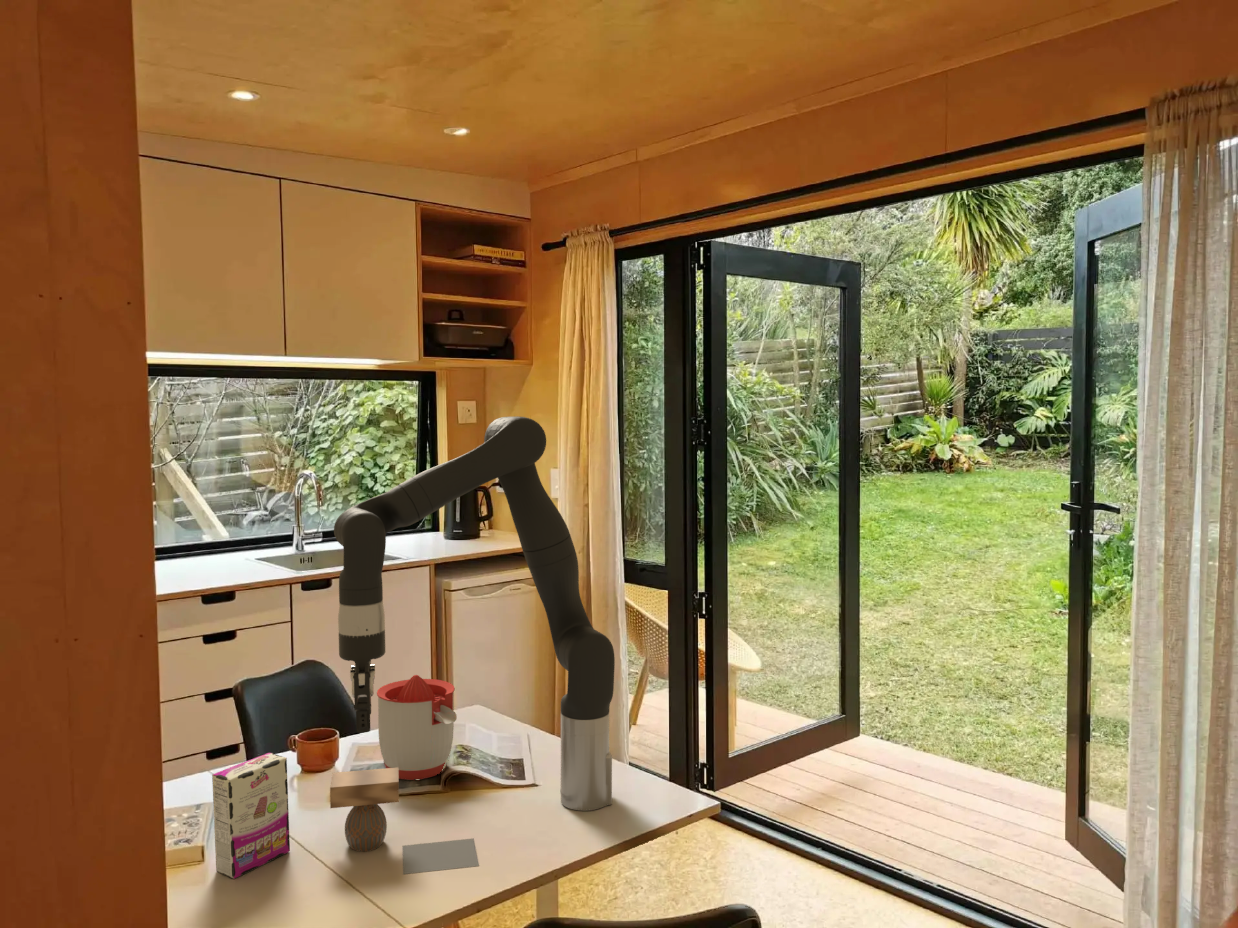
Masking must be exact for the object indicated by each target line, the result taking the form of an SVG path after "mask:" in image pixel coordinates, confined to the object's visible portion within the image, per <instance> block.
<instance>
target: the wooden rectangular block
mask: <svg viewBox="0 0 1238 928" xmlns="http://www.w3.org/2000/svg"><path fill="white" fill-rule="evenodd" d="M399 785H400V783H399V767H397V768H386V767H385V768H375V769H364V770H352V771H351V770H350V771H339V772H338V771H337V772H332V775H331V780H330V786H329V797H330V799H329V802H330V803H329V805H330V807H329V808H330V809H337V808H348V807H354V806H361V805H373V804H378V805H382V804H393V803H394V804H395V803H400V791H399V790H400V788H399V787H400V786H399Z"/></svg>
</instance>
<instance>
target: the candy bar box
mask: <svg viewBox="0 0 1238 928" xmlns="http://www.w3.org/2000/svg"><path fill="white" fill-rule="evenodd" d="M287 759H288V758H287V757H285V756H282V755H279V754H275V753H273V752H267V753H264V754H263V755H259V756H256V757H254V758H252V759H249V760H246V761H244V762H240V763H239V764H235V765H233V766H230V767H228V768H225V769H224V770H221V771H217V772H215V773H213V774H211V776H212V777H211V778H212V800H213V802H212V803H213V804H212V805H213V824H214V825H213V826H214V828H213V829H214V846H215V847H214V848H215V849H214V850H215V852H214V853H215V869H216V872H217V873H219V874H221V875H224V876H227V877H228V878H231V879H233V880H235V879H237V878H239V877H241V876H243V875H245V874H247V873H249V872H251V871H254V870H255V869H257V868H260V867H262V866H263V865H266V864H267V863H269V862H272V861H274V860H275V859H277V858H280V857H282V856H283V855H285V854H287V853H289V852H290V851H291V845H290V843H291V842H290V815H289V814H290V812H289V811H290V810H289V792H288V791H289V788H288V785H289V783H288V765H287V764H288V760H287Z"/></svg>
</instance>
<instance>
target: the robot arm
mask: <svg viewBox="0 0 1238 928" xmlns="http://www.w3.org/2000/svg"><path fill="white" fill-rule="evenodd" d="M483 437H484V438H483V439H484V440H483V443H481V444H480V445H478V446H477V447H476V448H473V449H472V450H469V451H468V452H466V453H464V454H462V455H460V456H457V457H455V458H453V459H451V460H448V461H446V462H445V461H444V462H442V463H440V464H438V465H436V466H435V465H434V466H433V467H431V468H428V469H426V470H424V471H422V472H419V473H418V474H416V475H415V474H414V476H412V477H410V478H408V479H407V480H405V481H403V482H402V483H399V484H398V485H396V486H394V487H392V488H391V489H390V490H388V491H386V492H383V493H382V494H379V495H376V496H373V497H371V498H368V499H366V500H364V501H362V502H359V503H357V504H355V505H353V506H352V507H351V506H350V508H348V509H346V510H344V511H343V512H342V513H341V514H340V515H339V516H338V517H337V519H336V520H335V522H334V525H333V534H334V537H335V539H336V541H337V542H338V544H339V545H340V546H342V549H343V568H342V570H341V571H340V573H339V578H338V597H339V598H338V599H339V604H338V605H339V607H338V616H337V617H338V618H337V620H338V621H337V623H338V628H337V629H338V655H339V658H340V659H342V660H344V661H348V662H350V661H352V662H354V664H355V665H351V666H350V672H349V673H350V674H349V675H350V676H349V677H350V681H351V696H352V698H354V699H353V700H354V701H353V703H354V704H353V709H354V711H355V724H356V725H355V726H356V727H355V728H356V732H357V733H359V734H360V733H369V732H370V731H371V714H372V697H374V684H375V679H376V664H372V660H377V659H380V658H381V657H383V656H384V655H385V653H386V621H385V620H386V616H385V608H384V601H383V599H384V597H383V595H384V594H383V593H384V592H383V591H384V590H383V577H382V576H383V575H382V573H383V568H384V562H385V554H386V547H387V546H386V545H387V540H386V539H387V536H386V534H387V533H389V532H392V531H393V530H395V529H398V528H405V527H406V528H407V527H408V526H411V525H413V524H414V525H415V524H416V523H417V522H419V521H421V520H422V519H424V518H426V517H427V516H430V515H431V514H432V513H433V514H434V513H435V512H437V511H438V510H440V509H441V508H443V507H445V506H447V505H448V504H450V503H452V502H453V501H455V500H456V499H458V498H460V497H462V496H464V495H466V494H467V493H469V492H471V491H473V490H475V489H477V488H479V487H480V486H483V485H485V484H487V483H489V482H491V481H493V480H495V479H497V480H498V481H499V484H500V485H501V488H502V491H503V493H504V495H505V498H506V500H507V504H508V508H509V511H510V515H511V517H512V521H513V524H514V528H515V530H516V533H517V536H518V540H519V542H520V546H521V549H522V553H523V555H524V559H525V561H526V564H527V567H528V569H529V572H530V575H531V577H532V579H533V582H534V583H533V584H534V585H535V588H536V591H537V594H538V596H539V598H540V601H541V603H542V605H543V609H544V611H545V614H546V617H547V621H548V626H549V631H550V635H551V639H552V644H553V645H552V646H553V648H554V653H555V656H556V658H557V661H558V662H559V664H560V665H561V667H562V668H563V669H565V670H566V671H567V692H566V694H564V695H563V696H562V697H561V700H560V793H559V794H560V803H561V806H563V807H566V808H568V809H570V810H575V811H594V810H599V809H601V808H603V807H606V806H610V805H613V757H612V755H613V754H612V753H611V752H610V705H611V702H612V700H613V698H614V691H615V689H614V686H615V663H616V661H615V659H616V657H615V649H614V647H613V644H612V641H611V640H610V639H609V638H608V637H607V636H606V635H605V634H604V633H602V632H600V631H599V630H596V629H595V628H594V627H593V625H592V623H591V621H590V620H589V617H588V615H587V613H586V609H585V608H584V605H583V601H582V598H581V594H580V582H579V581H580V580H579V579H580V578H579V576H580V575H579V574H580V572H579V561H578V556H577V552H576V548H575V545H574V542H573V539H572V536H571V534H570V533H571V532H570V531H569V530H570V529H569V528H568V525H567V524H566V521H565V520H564V518H563V515H562V514H561V513H560V511H559V509H558V508H557V506H556V504H555V503H554V502H553V500H552V499H551V497H550V496H549V494H548V493H547V491H546V490H545V488H544V486H543V484H542V483H543V482H542V481H541V479H540V476H539V473H538V469H537V465H536V463H537V462H538V461H539V460H540V459H541V458H542V456H543V455H544V452H545V450H546V448H547V447H546V446H547V436H546V432H545V430H544V428H543V426H541V425H540V423H539V422H538V421H536V420H534V419H532V418H530V417H526V416H502V417H498V418H496V419H494V420H493V421H492V422H490V423H489V425H488V426H487V428H486V430H485V433H484V436H483Z"/></svg>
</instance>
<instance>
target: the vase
mask: <svg viewBox="0 0 1238 928" xmlns="http://www.w3.org/2000/svg"><path fill="white" fill-rule="evenodd" d="M344 822H345V823H344V835H345V841H346V843H347V844H348V846H349V847H350V848H351V849H352V850H354V851H356V852H369V851H373V850H375V849H378V848H379V847H380V846H381V845H382V844H383V842H384V840H385V838H386V834H387V827H388V826H387V825H388V824H387V823H388V822H387V817H386V815H385V812H384V810H383V809H382V807H381V806H380V804H373V805H361V806H352V807H351V809H350V811H349V812H348V814H347V816H346V819H345V821H344Z"/></svg>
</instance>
